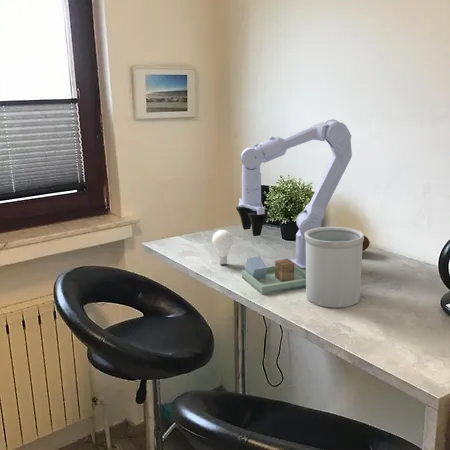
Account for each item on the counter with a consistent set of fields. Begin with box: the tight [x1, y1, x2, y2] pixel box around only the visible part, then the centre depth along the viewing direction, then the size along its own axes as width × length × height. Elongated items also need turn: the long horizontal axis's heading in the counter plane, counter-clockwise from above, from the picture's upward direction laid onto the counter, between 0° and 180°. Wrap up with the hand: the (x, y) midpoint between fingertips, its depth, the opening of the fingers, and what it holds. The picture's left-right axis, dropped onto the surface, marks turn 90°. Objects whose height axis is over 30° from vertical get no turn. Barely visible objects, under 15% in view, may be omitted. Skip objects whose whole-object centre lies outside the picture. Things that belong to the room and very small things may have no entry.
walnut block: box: [274, 258, 295, 282], centre depth 159 cm, size 4×4×5 cm
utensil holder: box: [305, 226, 365, 309], centre depth 145 cm, size 15×15×18 cm
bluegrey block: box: [244, 255, 268, 279], centre depth 160 cm, size 4×4×5 cm
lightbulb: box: [211, 229, 234, 266], centre depth 173 cm, size 6×6×11 cm
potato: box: [362, 234, 371, 252], centre depth 180 cm, size 7×10×8 cm
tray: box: [241, 264, 306, 295], centre depth 159 cm, size 16×14×2 cm
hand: (251, 232), depth 171 cm, fingers open, 7 cm apart
